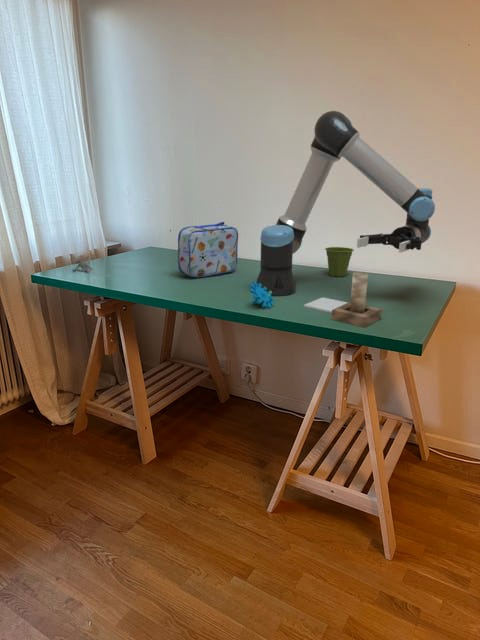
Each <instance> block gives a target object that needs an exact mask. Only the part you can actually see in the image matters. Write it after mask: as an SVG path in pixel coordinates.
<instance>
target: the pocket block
mask: <svg viewBox="0 0 480 640" xmlns="http://www.w3.org/2000/svg"><path fill="white" fill-rule="evenodd" d="M382 312H383V309H382V308H379V307H374V306H371V305H365V311H364V313H362V314H360V313H356V312H351V311H350V301H349V302H347V303H346V304H344V305H342V306H340V307H338V308H335V309H333V310H332V313H331V318H330V319H331V320H333V321H337V322H340V323H345V324H350V325H353V326H356V327H357V326H358V327H362V328H367V327H369V326H370V325H372V324H374V323H375V322H377V321H379V320H381V319H382V315H383V314H382Z"/></svg>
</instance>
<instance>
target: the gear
mask: <svg viewBox="0 0 480 640" xmlns="http://www.w3.org/2000/svg"><path fill="white" fill-rule="evenodd" d="M256 282H257V281H256ZM256 282H255V281H254V282H253V283H252V284H250V286H249V287H250V289H249V293H251V294H252V295H251V297H252V299H253V300H252V302H251V305H255V304H256V303H257V304H258V305H260V304H261V303H262V304H261V306H262V307H263V308H268V309H269V308H272V306H274V304H275V303H274V302H273V301H274V297H272V295H271V293H272V291H269V292H266V290H267V288H266V287H263V289H262V288H261V286H262V285H261V284H260V283H259V284H258V287H257V283H256Z"/></svg>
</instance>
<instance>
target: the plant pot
mask: <svg viewBox="0 0 480 640" xmlns="http://www.w3.org/2000/svg"><path fill="white" fill-rule="evenodd" d="M324 250H325V251H326V257H327V267H328V275H329V276H331V277H338V278H341V277H342V276H343V277H345V276H346V275H347V273H348V270H349V269H348V268H349V265H350V260H351V257H352V255H353V252H354V248H350V247H343V246H329V247H326V248H324Z"/></svg>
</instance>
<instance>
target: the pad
mask: <svg viewBox="0 0 480 640" xmlns="http://www.w3.org/2000/svg"><path fill="white" fill-rule="evenodd" d="M346 303H348V302H346V301H342V300H337V299H332V298H328V297H323V296H322V297H320V298H317V299H315V300H313V301H309V302H307V303H305V304H304V305H303V307H304V308H309V309H312V310H317V311H321V312H325V313H330V314H332V310H333V309H335V308H338V307H340V306H342V305H344V304H346Z"/></svg>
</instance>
